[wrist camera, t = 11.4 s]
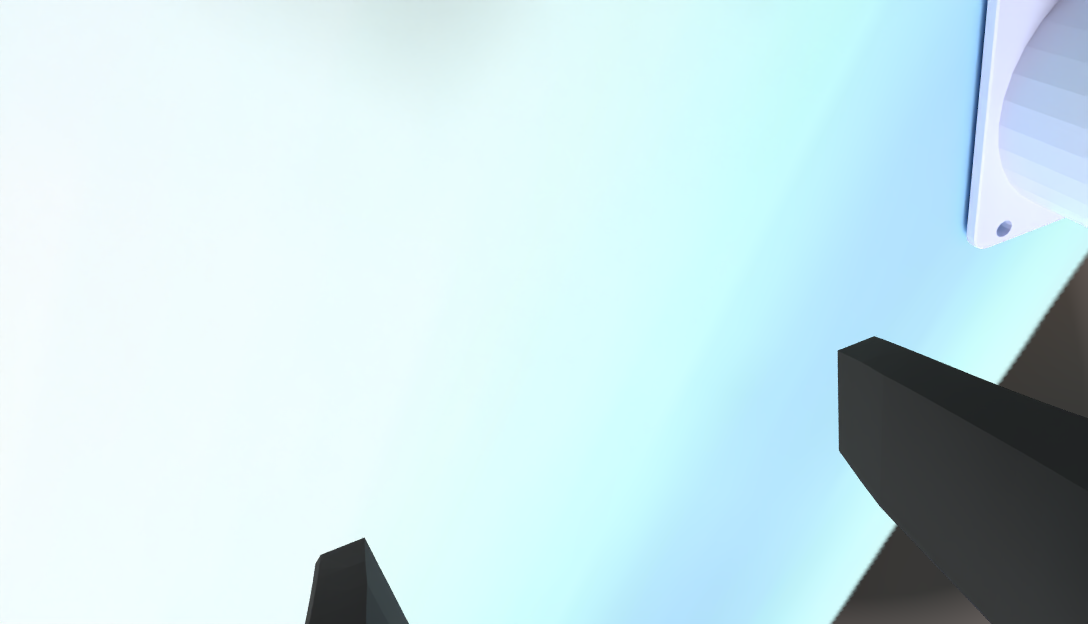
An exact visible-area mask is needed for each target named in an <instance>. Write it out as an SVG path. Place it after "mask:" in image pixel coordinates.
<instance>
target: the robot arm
mask: <svg viewBox="0 0 1088 624" xmlns="http://www.w3.org/2000/svg"><path fill="white" fill-rule="evenodd" d="M1063 218H1068V219H1070V220H1072V221H1074V222H1076V223H1078V224H1080V225H1082V226H1085V227H1087V228H1088V0H988V5H987V16H986V27H985V38H984V49H983V60H982V71H981V82H980V93H979V104H978V115H977V126H976V137H975V148H974V159H973V170H972V181H971V192H970V203H969V214H968V225H967V241H968V242H969V243H970V244H971V245H973V246H975V247H977V248H980V249H985V248H988V247H991V246H994V245H996V244H999V243H1001V242H1004V241H1006V240H1009V239H1012V238H1014V237H1017V236H1019V235H1022V234H1025V233H1027V232H1030V231H1032V230H1035V229H1038V228H1040V227H1043V226H1045V225H1048V224H1050V223H1053V222H1056V221H1058V220H1061V219H1063ZM999 225H1000V226H999ZM838 413H839V451H840V453H841V454H842V455H843V457H844V458H845V460H846V461H847V462H848V464H849V465H850V467H851V468H852V469H853V471H854V472H855V474H856V475H857V476H858V478H859V479H860V481H861V482H862V483H863V485H864V486H865V487H866V489H867V490H868V491H869V493H870V494H871V495H872V496H873V498H874V499H875V500H876V502H877V503H878V504H879V506H880V507H881V508H882V509H883V510H884V511H885V512H886V513H887V514H888V516H889V517H890V518H891V519H892V520H893V521H894V522H895V523H896V524H897V525H898V526H899V527H900V528H901V529H902V530H903V532H904V533H905V534H906V535H907V536H908V537H909V538H910V539H911V540H912V541H913V542H914V543H915V544H916V545H917V547H919V549H920V550H921V551H922V552H923V553H924V554H925V555H926V556H927V557H928V558H929V559H930V560H931V561H932V562H933V563H934V564H935V565H936V566H937V567H938V568H939V569H940V570H941V571H942V573H943V574H945V576H946V577H947V578H948V579H949V580H950V581H951V582H952V583H953V584H954V585H955V586H956V587H957V588H958V589H959V590H960V591H961V593H962V594H963V595H965V597H966V598H968V600H969V601H970V602H971V603H972V604H973V605H974V606H975V607H976V608H977V609H978V610H979V611H980V612H981V613H982V614H983V616H985V618H986V619H987V620H988V621H989V622H990V623H991V624H1088V418H1086V417H1083V416H1080V415H1077V414H1074V413H1071V412H1068V411H1066V410H1063V409H1060V408H1057V407H1054V406H1052V405H1049V404H1046V403H1043V402H1041V401H1038V400H1035V399H1032V398H1030V397H1027V396H1025V395H1022V394H1019V393H1016V392H1014V391H1011V390H1009V389H1006V388H1004V387H1001V386H998V385H996V384H993V383H991V382H988V381H986V380H983V379H981V378H978V377H976V376H973V375H971V374H968V373H966V372H963V371H961V370H958V369H956V368H953V367H951V366H949V365H946V364H944V363H941V362H939V361H936V360H934V359H931V358H929V357H926V356H924V355H921V354H919V353H916V352H914V351H912V350H909V349H906V348H904V347H901V346H899V345H896V344H894V343H891V342H889V341H886V340H883V339H880V338H878V337H875V336H874V337H871V338H869V339H866V340H863V341H861V342H858V343H856V344H853V345H851V346H848V347H846V348H843V349H841V350H838ZM305 624H409V623H408V621H407V619H406V617H405V616H404V614H403V612H402V610H401V608H400V606H399V604H398V602H397V600H396V598H395V596H394V594H393V592H392V590H391V588H390V586H389V584H388V582H387V580H386V579H385V577H384V575H383V573H382V571H381V569H380V567H379V565H378V563H377V561H376V559H375V557H374V555H373V553H372V551H371V549H370V547H369V545H368V544H367V542H366V540H365V538H362V539H360V540H357V541H355V542H352V543H350V544H347V545H345V546H342V547H340V548H337V549H334V550H332V551H329V552H327V553H324V554H322V555H320V557H319V559H318V560H317V562H316V564H315V571H314V578H313V584H312V590H311V595H310V601H309V606H308V611H307V616H306V621H305Z"/></svg>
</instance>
